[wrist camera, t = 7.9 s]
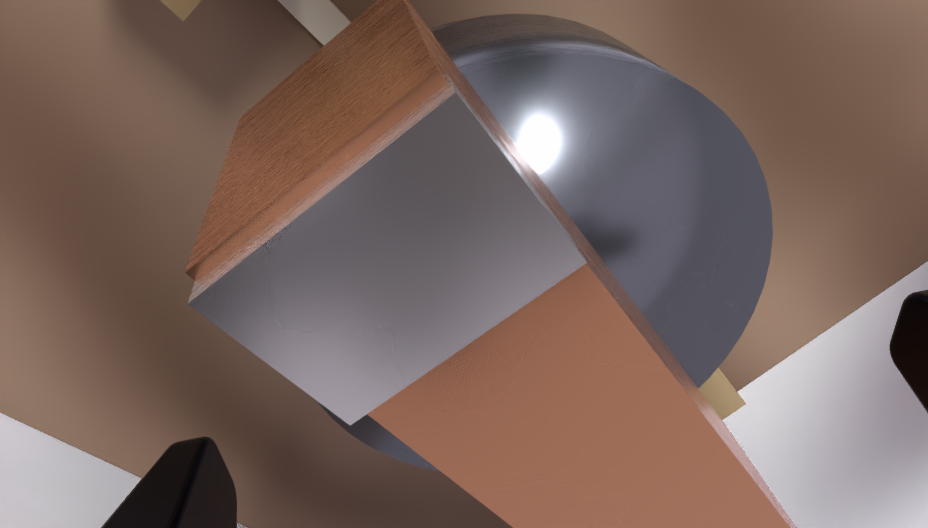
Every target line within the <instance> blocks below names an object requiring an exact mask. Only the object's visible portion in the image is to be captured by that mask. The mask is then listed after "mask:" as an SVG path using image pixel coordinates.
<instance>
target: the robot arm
mask: <svg viewBox="0 0 928 528" xmlns="http://www.w3.org/2000/svg"><path fill="white" fill-rule="evenodd" d="M890 354H891V357H892V360H893V362H894V364H895V366H896V367H897V368H898V370H899V371H900V373H901V374H902V376H903V377H904V379H905V380H906V382H907V383H908V385H909V386H910V387H911V389H912V390H913V392H914V393H915V395H916V396H917V398H918V399H919V401H920V402H921V404H922V405H923V406H924V408H925V409H926V411H927V412H928V290H925V291H920V292H915V293H912V294H910V295H909V296H908V297H907V298H906V299H905V300H904V302H903V304H902V307H901V310H900V313H899V316H898V319H897V322H896V325H895V328H894V332H893V335H892V338H891V341H890ZM101 528H237V495H236V489H235V485H234V482H233V479H232V477H231V475H230V473H229V471H228V469H227V466H226V464H225V462H224V460H223V458H222V456H221V454H220V451H219V449H218V447H217V445H216V443H215V442H214V440H213V439H212V438H210V437H206V436H203V437H198V438H193V439H188V440H183V441H178V442H176V443H173V444H172V445H171V446H169V447H168V448H167V449H166V451H165V452H164V453H163V454H162V455H161V457H160V458H159V459H158V460H157V461H156V463H155V464H154V465H153V466H152V467H151V469H150V470H149V471H148V472H147V473H146V475H145V476H144V477H143V478H142V479H141V481H140V482H139V483H138V484H137V485H136V487H135V488H134V489H133V490H132V491H131V492H130V494H129V495H128V496H127V497H126V498H125V500H124V501H123V502H122V503H121V504H120V506H119V507H118V508H117V509H116V510H115V512H114V513H113V514H112V515H111V516H110V518H109V519H108V520H107V521H106V522H105V524H104V525H103V526H102V527H101Z"/></svg>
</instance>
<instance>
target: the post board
mask: <svg viewBox="0 0 928 528" xmlns="http://www.w3.org/2000/svg"><path fill="white" fill-rule="evenodd" d="M376 1H377V0H0V413H3V414H5V415H7V416H9V417H11V418H13V419H16V420H18V421H20V422H22V423H24V424H26V425H28V426H31V427H33V428H35V429H37V430H39V431H41V432H44V433H46V434H48V435H50V436H52V437H54V438H56V439H59V440H61V441H63V442H65V443H67V444H69V445H72V446H74V447H76V448H78V449H80V450H82V451H85V452H87V453H89V454H91V455H93V456H95V457H97V458H100V459H102V460H104V461H106V462H108V463H110V464H113V465H115V466H117V467H119V468H121V469H123V470H125V471H128V472H130V473H132V474H134V475H136V476H138V477H141V478H143V477H144V476H145V475H146V473H147V472H148V471H149V470H150V469H151V467H152V466H153V465H154V464H155V463H156V461H157V460H158V459H159V458H160V457H161V455H162V454H163V453H164V452H165V451H166V449H167V448H168V447H169V446H171V445H172V444H173V443H176V442H178V441H183V440H188V439H193V438H198V437H203V436H206V437H210V438H212V439H213V440H214V442H215V443H216V445H217V447H218V449H219V451H220V454H221V456H222V458H223V460H224V462H225V464H226V466H227V469H228V471H229V473H230V475H231V477H232V479H233V482H234V485H235V489H236V495H237V522H238V523H240V524H242V525H244V526H246V527H248V528H513V527H512V526H510V525H509V524H508V523H507V522H505V521H504V520H503V519H501V518H500V517H499V516H497V515H496V514H495V513H494V512H492V511H491V510H490V509H488V508H487V507H486V506H485V505H483V504H482V503H481V502H479V501H478V500H477V499H476V498H474V497H473V496H472V495H470V494H469V493H468V492H467V491H465V490H464V489H463V488H461V487H460V486H459V485H458V484H456V483H455V482H454V481H452V480H451V479H450V478H449V477H447V476H446V475H445V474H443V473H442V472H441V471H436V470H432V469H427V468H423V467H418V466H415V465H412V464H409V463H406V462H403V461H400V460H397V459H394V458H392V457H390V456H388V455H386V454H384V453H382V452H380V451H377V450H375V449H373V448H371V447H370V446H368V445H367V444H365V443H363V442H362V441H360V440H359V439H357V438H356V437H354V436H352V435H351V434H350V433H348V432H347V431H346V430H345V429H344V428H343V427H341V426H340V425H339V424H338V423H337V422H336V421H334V420H333V419H332V418H331V417H330V416H329V415H328V414H327V412H326V411H325V410H324V409H323V408H322V407H321V406H320V404H319V403H318V402H317V401H316V400H315V399H314V398H313V397H311V396H310V395H309V394H307V393H306V392H305V391H303V390H302V389H301V388H299V387H298V386H297V385H295V384H294V383H293V382H291V381H290V380H289V379H287V378H286V377H285V376H283V375H282V374H280V373H279V372H278V371H276V370H275V369H274V368H272V367H271V366H270V365H268V364H267V363H266V362H264V361H263V360H262V359H260V358H259V357H258V356H256V355H255V354H254V353H252V352H251V351H250V350H248V349H247V348H246V347H244V346H243V345H242V344H240V343H239V342H238V341H236V340H235V339H234V338H232V337H231V336H230V335H228V334H227V333H226V332H224V331H223V330H222V329H220V328H219V327H218V326H216V325H215V324H214V323H212V322H211V321H210V320H208V319H207V318H206V317H204V316H203V315H202V314H200V313H199V312H198V311H196V310H195V309H194V308H192V307H191V306H190V305H188V301H189V298H190V295H191V292H192V289H193V285H194V282H195V280H194V279H192V278H191V277H190V276H189V275H187V274H186V273H185V270H186V268H187V265H188V262H189V259H190V256H191V254H192V251H193V248H194V245H195V243H196V240H197V237H198V234H199V231H200V229H201V226H202V223H203V220H204V217H205V215H206V212H207V209H208V206H209V204H210V201H211V198H212V195H213V192H214V190H215V187H216V184H217V181H218V179H219V176H220V173H221V170H222V167H223V165H224V162H225V159H226V156H227V154H228V151H229V148H230V145H231V142H232V140H233V137H234V134H235V131H236V128H237V126H238V123H239V120H240V117H241V116H242V115H243V114H244V113H246V112H247V111H248V110H249V109H250V108H252V107H253V106H254V105H255V104H256V103H257V102H259V101H260V100H261V99H262V98H263V97H264V96H266V95H267V94H268V93H269V92H270V91H271V90H273V89H274V88H275V87H276V86H277V85H279V84H280V83H281V82H282V81H283V80H284V79H286V78H287V77H288V76H289V75H290V74H291V73H293V72H294V71H295V70H296V69H297V68H299V67H300V66H301V65H302V64H303V63H304V62H306V61H307V60H308V59H309V58H310V57H311V56H313V55H314V54H315V53H316V52H317V51H318V50H320V49H321V48H322V47H323V46H324V45H326V44H327V43H328V42H329V41H330V40H331V39H333V38H334V37H335V36H336V35H337V34H338V33H340V32H341V31H342V30H343V29H344V28H346V27H347V26H348V25H349V24H350V23H351V22H353V21H354V20H355V19H356V18H357V17H358V16H360V15H361V14H362V13H363V12H364V11H365V10H367V9H368V8H369V7H370V6H371V5H373V4H374V3H375V2H376ZM408 1H409V3H410V4H411V5H412V7H413V8H414V9H415V11H416V12H417V13H418V15H419V16H420V17H421V19H422V20H423V21H424V23H425V24H426V25H427V27H428V28H429V29H430V31H432V30H435V29H438V28H441V27H443V26H446V25H449V24H451V23H455V22H459V21H464V20H468V19H473V18H477V17H482V16H489V15H501V14H513V13H519V14H536V15H548V16H553V17H558V18H562V19H567V20H572V21H576V22H579V23H582V24H584V25H587V26H590V27H592V28H595V29H598V30H601V31H603V32H605V33H607V34H608V35H610V36H612V37H614V38H615V39H617V40H619V41H621V42H623V43H624V44H626V45H628V46H629V47H631V48H632V49H634V50H636V51H637V52H639V53H640V54H642V55H643V56H645V57H647V58H648V59H650V60H651V61H653V62H654V63H656V64H657V65H659V66H661V67H662V68H664V69H665V70H667V71H668V72H670V73H671V74H673V75H675V76H676V77H678V78H679V79H681V80H682V81H684V82H686V83H687V84H689V85H690V86H692V87H693V88H695V89H696V90H698V91H699V92H701V93H702V94H703V95H704V96H706V97H707V98H708V99H709V100H710V101H712V102H713V103H714V104H715V105H717V106H718V107H719V108H720V109H722V110H723V111H724V113H725V114H726V115H727V116H728V117H729V118H730V119H731V120H732V122H733V123H734V124H735V125H736V126H737V127H738V128H739V130H740V131H741V132H742V133H743V135H744V137H745V138H746V140H747V142H748V143H749V145H750V147H751V148H752V150H753V152H754V153H755V155H756V157H757V159H758V162H759V164H760V167H761V169H762V172H763V175H764V177H765V180H766V183H767V188H768V192H769V197H770V202H771V207H772V225H773V239H772V248H771V258H770V264H769V268H768V272H767V276H766V280H765V284H764V288H763V290H762V293H761V295H760V298H759V300H758V303H757V306H756V308H755V311H754V313H753V315H752V317H751V318H750V320H749V322H748V324H747V326H746V328H745V330H744V332H743V334H742V335H741V337H740V338H739V340H738V341H737V343H736V344H735V346H734V347H733V349H732V350H731V352H730V353H729V354H728V356H727V357H726V359H725V360H724V361H723V362H722V363H721V365H720V366H719V367H718V368H717V369H716V371H715V372H714V373H713V374H712V375H711V376H710V378H709V379H708V380H707V381H706V382H705V383H704V384H703V385H702V386H701V387H699V388H698V389H699V390H700V392H701V393H702V394H703V396H704V397H705V398H706V400H707V401H708V402H709V404H710V405H711V406H712V408H713V409H714V410H715V412H716V413H717V414H718V416H719V417H720V418H721V420H723V419H724V418H726V417H727V416H729V415H730V414H732V413H733V412H735V411H736V410H738V409H739V408H741V407H742V406H743V405H745V404H746V403H745V402H744V401H743V399H742V398H741V397H740V395H739V394H738V393H737V391H739V390H740V389H742V388H743V387H745V386H746V385H748V384H749V383H750V382H752V381H753V380H755V379H756V378H758V377H759V376H761V375H762V374H764V373H765V372H766V371H768V370H769V369H771V368H772V367H774V366H775V365H777V364H778V363H780V362H781V361H783V360H784V359H785V358H787V357H788V356H790V355H791V354H793V353H794V352H796V351H797V350H799V349H800V348H801V347H803V346H804V345H806V344H807V343H809V342H810V341H812V340H813V339H815V338H816V337H817V336H819V335H820V334H822V333H823V332H825V331H826V330H828V329H829V328H831V327H832V326H834V325H835V324H836V323H838V322H839V321H841V320H842V319H844V318H845V317H847V316H848V315H850V314H851V313H852V312H854V311H855V310H857V309H858V308H860V307H861V306H863V305H864V304H866V303H867V302H869V301H870V300H871V299H873V298H874V297H876V296H877V295H879V294H880V293H882V292H883V291H885V290H886V289H887V288H889V287H890V286H892V285H893V284H895V283H896V282H898V281H899V280H901V279H902V278H904V277H905V276H906V275H908V274H909V273H911V272H912V271H914V270H915V269H917V268H918V267H920V266H921V265H922V264H924V263H925V262H927V261H928V0H408Z"/></svg>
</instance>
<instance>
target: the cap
mask: <svg viewBox="0 0 928 528" xmlns="http://www.w3.org/2000/svg"><path fill="white" fill-rule="evenodd" d="M772 239H773V225H772V207H771V202H770V197H769V192H768V188H767V183H766V180H765V177H764V175H763V172H762V169H761V167H760V164H759V162H758V159H757V157H756V155H755V153H754V152H753V150H752V148H751V147H750V145H749V143H748V142H747V140H746V138H745V137H744V135H743V133H742V132H741V131H740V130H739V128H738V127H737V126H736V125H735V124H734V123H733V122H732V120H731V119H730V118H729V117H728V116H727V115H726V114H725V113H724V111H723V110H722V109H720V108H719V107H718V106H717V105H715V104H714V103H713V102H712V101H710V100H709V99H708V98H707V97H706V96H704V95H703V94H702V93H701V92H699V91H698V90H696V89H695V88H693V87H692V86H690V85H689V84H687V83H686V82H684V81H682V80H681V79H679V78H678V77H676V76H675V75H673V74H671V73H670V72H668V71H667V70H665V69H664V68H662V67H661V66H659V65H657V64H656V63H654V62H653V61H651V60H650V59H648V58H647V57H645V56H643V55H642V54H640V53H639V52H637V51H636V50H634V49H632V48H631V47H629V46H628V45H626V44H624V43H623V42H621V41H619V40H617V39H615V38H614V37H612V36H610V35H608V34H607V33H605V32H603V31H601V30H598V29H595V28H592V27H590V26H587V25H584V24H582V23H579V22H576V21H572V20H567V19H562V18H558V17H553V16H548V15H536V14H519V13H513V14H501V15H489V16H482V17H477V18H473V19H468V20H464V21H459V22H455V23H451V24H449V25H446V26H443V27H441V28H438V29H435V30H432V31H430V29H429V28H428V27H427V25H426V24H425V23H424V21H423V20H422V19H421V17H420V16H419V15H418V13H417V12H416V11H415V9H414V8H413V7H412V5H411V4H410V3H409V1H408V0H377V1H376V2H375V3H374V4H373V5H371V6H370V7H369V8H368V9H367V10H365V11H364V12H363V13H362V14H361V15H360V16H358V17H357V18H356V19H355V20H354V21H353V22H351V23H350V24H349V25H348V26H347V27H346V28H344V29H343V30H342V31H341V32H340V33H338V34H337V35H336V36H335V37H334V38H333V39H331V40H330V41H329V42H328V43H327V44H326V45H324V46H323V47H322V48H321V49H320V50H318V51H317V52H316V53H315V54H314V55H313V56H311V57H310V58H309V59H308V60H307V61H306V62H304V63H303V64H302V65H301V66H300V67H299V68H297V69H296V70H295V71H294V72H293V73H291V74H290V75H289V76H288V77H287V78H286V79H284V80H283V81H282V82H281V83H280V84H279V85H277V86H276V87H275V88H274V89H273V90H271V91H270V92H269V93H268V94H267V95H266V96H264V97H263V98H262V99H261V100H260V101H259V102H257V103H256V104H255V105H254V106H253V107H252V108H250V109H249V110H248V111H247V112H246V113H244V114H243V115H242V116H241V117H240V120H239V123H238V126H237V128H236V131H235V134H234V137H233V140H232V142H231V145H230V148H229V151H228V154H227V156H226V159H225V162H224V165H223V167H222V170H221V173H220V176H219V179H218V181H217V184H216V187H215V190H214V192H213V195H212V198H211V201H210V204H209V206H208V209H207V212H206V215H205V217H204V220H203V223H202V226H201V229H200V231H199V234H198V237H197V240H196V243H195V245H194V248H193V251H192V254H191V256H190V259H189V262H188V265H187V268H186V270H185V273H186V274H187V275H189V276H190V277H191V278H192V279H194V280H195V282H194V285H193V289H192V292H191V295H190V298H189V301H188V305H190V306H191V307H192V308H194V309H195V310H196V311H198V312H199V313H200V314H202V315H203V316H204V317H206V318H207V319H208V320H210V321H211V322H212V323H214V324H215V325H216V326H218V327H219V328H220V329H222V330H223V331H224V332H226V333H227V334H228V335H230V336H231V337H232V338H234V339H235V340H236V341H238V342H239V343H240V344H242V345H243V346H244V347H246V348H247V349H248V350H250V351H251V352H252V353H254V354H255V355H256V356H258V357H259V358H260V359H262V360H263V361H264V362H266V363H267V364H268V365H270V366H271V367H272V368H274V369H275V370H276V371H278V372H279V373H280V374H282V375H283V376H285V377H286V378H287V379H289V380H290V381H291V382H293V383H294V384H295V385H297V386H298V387H299V388H301V389H302V390H303V391H305V392H306V393H307V394H309V395H310V396H311V397H313V398H314V399H315V400H316V401H317V402H318V403H319V404H320V406H321V407H322V408H323V409H324V410H325V411H326V412H327V414H328V415H329V416H330V417H331V418H332V419H333V420H334V421H336V422H337V423H338V424H339V425H340V426H341V427H343V428H344V429H345V430H346V431H347V432H348V433H350V434H351V435H352V436H354V437H356V438H357V439H359V440H360V441H362V442H363V443H365V444H367V445H368V446H370V447H371V448H373V449H375V450H377V451H380V452H382V453H384V454H386V455H388V456H390V457H392V458H394V459H397V460H400V461H403V462H406V463H409V464H412V465H415V466H418V467H423V468H427V469H432V470H436V471H441V472H442V473H443V474H445V475H446V476H447V477H449V478H450V479H451V480H452V481H454V482H455V483H456V484H458V485H459V486H460V487H461V488H463V489H464V490H465V491H467V492H468V493H469V494H470V495H472V496H473V497H474V498H476V499H477V500H478V501H479V502H481V503H482V504H483V505H485V506H486V507H487V508H488V509H490V510H491V511H492V512H494V513H495V514H496V515H497V516H499V517H500V518H501V519H503V520H504V521H505V522H507V523H508V524H509V525H510V526H512V527H513V528H796V527H795V525H794V524H793V522H792V521H791V519H790V518H789V516H788V515H787V514H786V512H785V511H784V509H783V508H782V506H781V505H780V503H779V502H778V501H777V499H776V498H775V496H774V495H773V493H772V492H771V490H770V489H769V487H768V486H767V485H766V483H765V482H764V480H763V479H762V477H761V476H760V474H759V473H758V472H757V470H756V469H755V467H754V466H753V464H752V463H751V461H750V460H749V458H748V457H747V456H746V454H745V453H744V451H743V450H742V448H741V447H740V445H739V444H738V443H737V441H736V440H735V438H734V437H733V435H732V434H731V432H730V431H729V429H728V428H727V427H726V425H725V424H724V422H723V421H722V420H721V418H720V417H719V416H718V414H717V413H716V412H715V410H714V409H713V408H712V406H711V405H710V404H709V402H708V401H707V400H706V398H705V397H704V396H703V394H702V393H701V392H700V390H699V389H698V388H699V387H701V386H702V385H703V384H704V383H705V382H706V381H707V380H708V379H709V378H710V376H711V375H712V374H713V373H714V372H715V371H716V369H717V368H718V367H719V366H720V365H721V363H722V362H723V361H724V360H725V359H726V357H727V356H728V354H729V353H730V352H731V350H732V349H733V347H734V346H735V344H736V343H737V341H738V340H739V338H740V337H741V335H742V334H743V332H744V330H745V328H746V326H747V324H748V322H749V320H750V318H751V317H752V315H753V313H754V311H755V308H756V306H757V303H758V300H759V298H760V295H761V293H762V290H763V288H764V284H765V280H766V276H767V272H768V268H769V264H770V258H771V248H772Z"/></svg>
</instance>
